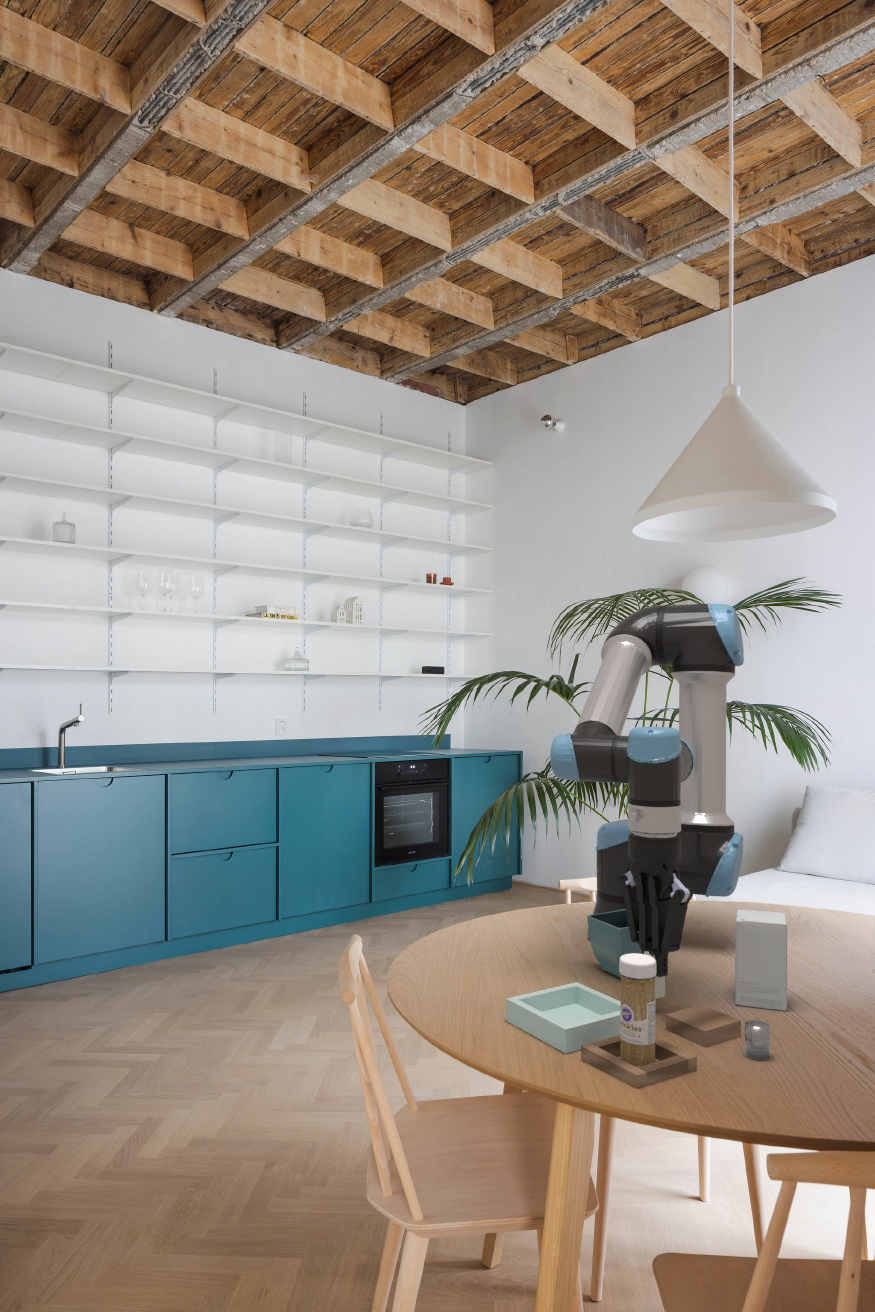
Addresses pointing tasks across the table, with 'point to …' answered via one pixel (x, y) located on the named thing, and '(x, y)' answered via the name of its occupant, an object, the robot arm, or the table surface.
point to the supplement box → (761, 959)
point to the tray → (566, 1015)
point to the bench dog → (757, 1040)
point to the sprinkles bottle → (637, 1009)
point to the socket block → (669, 1067)
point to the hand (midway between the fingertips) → (654, 996)
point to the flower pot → (611, 939)
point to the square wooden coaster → (703, 1025)
